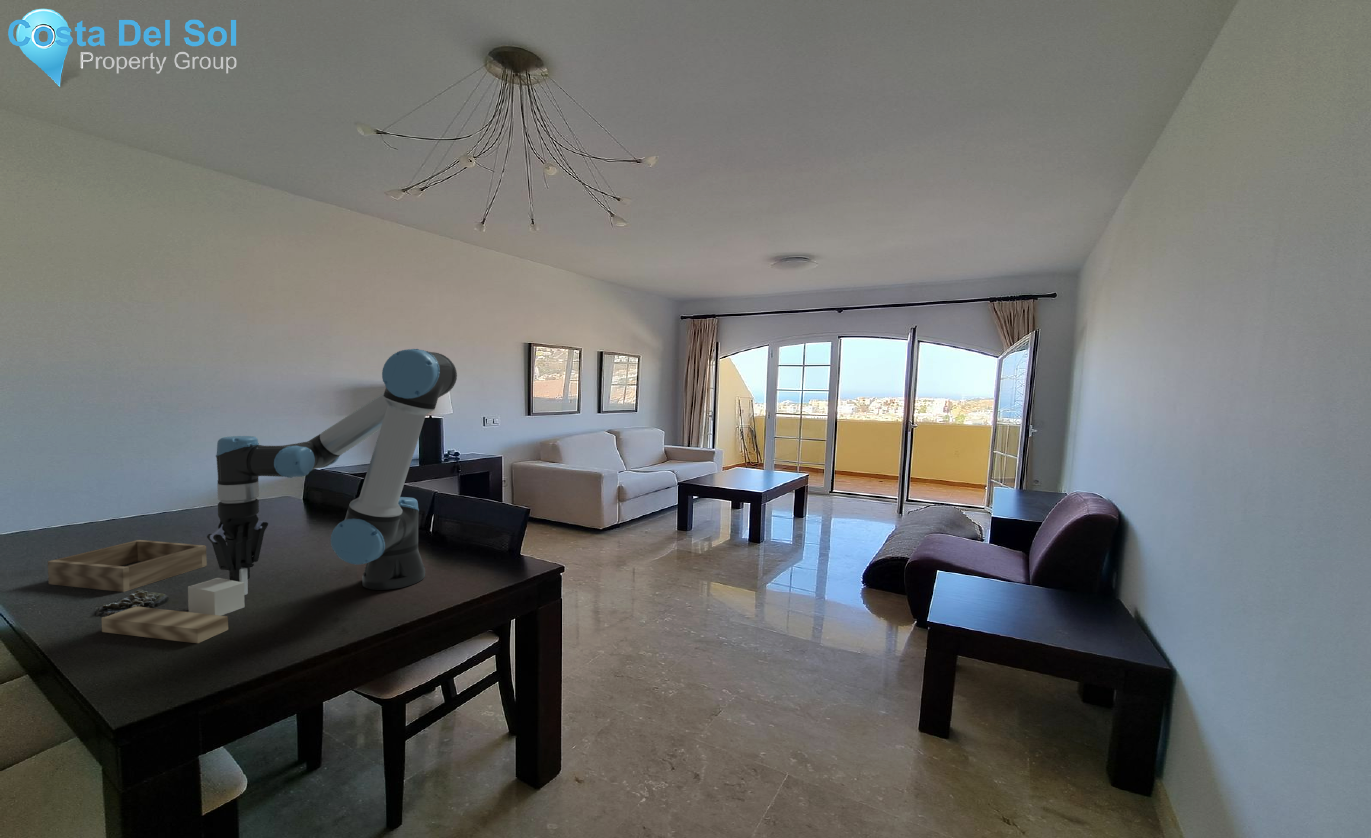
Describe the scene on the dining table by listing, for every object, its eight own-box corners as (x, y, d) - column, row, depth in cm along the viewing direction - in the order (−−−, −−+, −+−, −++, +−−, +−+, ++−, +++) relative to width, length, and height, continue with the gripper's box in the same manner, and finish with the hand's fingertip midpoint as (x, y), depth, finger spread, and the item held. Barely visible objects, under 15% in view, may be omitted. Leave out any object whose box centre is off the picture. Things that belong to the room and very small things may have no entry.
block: (244, 607, 121) (244, 582, 121) (215, 617, 116) (214, 592, 115) (218, 601, 124) (218, 577, 124) (188, 611, 118) (187, 586, 118)
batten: (228, 629, 110) (227, 616, 110) (197, 643, 104) (197, 629, 104) (136, 619, 114) (135, 606, 113) (101, 631, 108) (101, 618, 108)
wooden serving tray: (206, 565, 147) (206, 545, 147) (123, 591, 128) (122, 568, 127) (139, 559, 150) (138, 539, 150) (48, 584, 131) (47, 561, 131)
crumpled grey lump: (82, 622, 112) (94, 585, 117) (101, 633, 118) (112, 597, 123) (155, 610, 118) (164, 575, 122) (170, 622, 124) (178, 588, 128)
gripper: (252, 493, 130) (253, 583, 132) (196, 504, 118) (198, 603, 119) (277, 495, 129) (278, 585, 131) (223, 506, 116) (225, 607, 118)
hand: (240, 594), depth 125 cm, fingers closed
